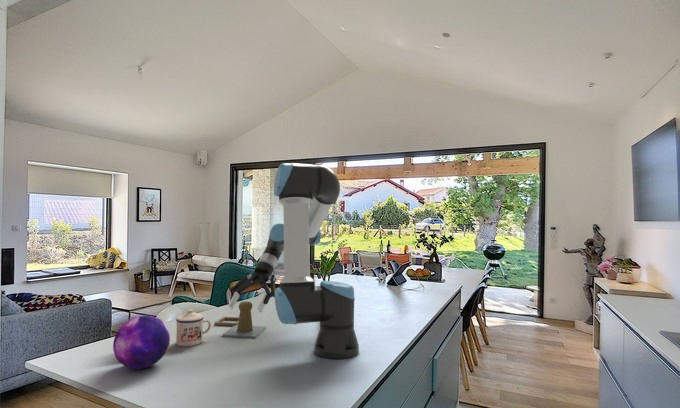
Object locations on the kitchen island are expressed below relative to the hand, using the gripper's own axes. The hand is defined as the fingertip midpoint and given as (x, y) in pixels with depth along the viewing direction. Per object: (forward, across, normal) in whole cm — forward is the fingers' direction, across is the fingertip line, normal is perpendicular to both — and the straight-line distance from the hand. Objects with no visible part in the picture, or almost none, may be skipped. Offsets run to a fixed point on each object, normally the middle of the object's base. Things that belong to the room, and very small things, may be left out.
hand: (244, 308), depth 150 cm
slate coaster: (+6, 0, -6) cm, 9 cm away
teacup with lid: (+19, +10, +5) cm, 22 cm away
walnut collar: (0, +13, -13) cm, 18 cm away
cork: (+6, 0, -6) cm, 8 cm away
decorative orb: (+36, +7, +23) cm, 43 cm away
